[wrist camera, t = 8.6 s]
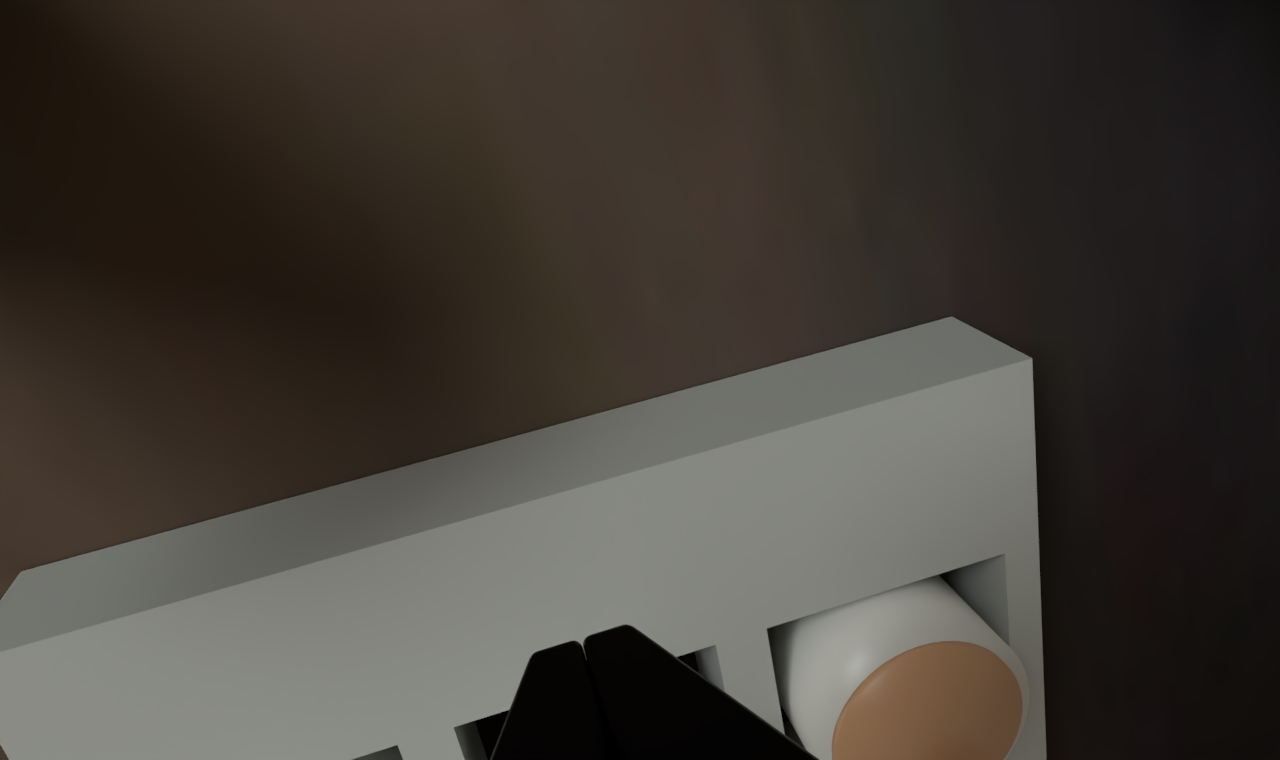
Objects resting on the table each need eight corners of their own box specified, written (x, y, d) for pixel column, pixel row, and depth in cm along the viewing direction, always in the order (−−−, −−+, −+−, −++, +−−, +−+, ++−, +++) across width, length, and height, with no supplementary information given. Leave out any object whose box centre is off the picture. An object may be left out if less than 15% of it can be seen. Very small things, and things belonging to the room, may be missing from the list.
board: (951, 316, 21) (1032, 358, 19) (984, 780, 27) (1050, 866, 24) (21, 571, 19) (-46, 664, 16) (264, 1033, 24) (245, 1164, 21)
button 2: (930, 511, 23) (1031, 604, 19) (943, 671, 24) (1038, 783, 21) (741, 569, 22) (808, 677, 18) (769, 728, 24) (835, 856, 20)
